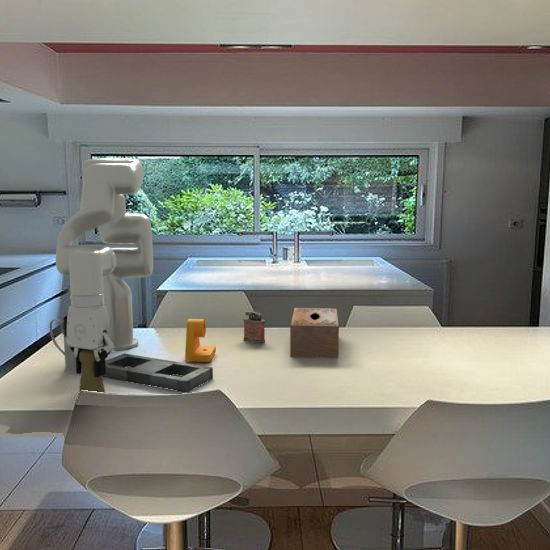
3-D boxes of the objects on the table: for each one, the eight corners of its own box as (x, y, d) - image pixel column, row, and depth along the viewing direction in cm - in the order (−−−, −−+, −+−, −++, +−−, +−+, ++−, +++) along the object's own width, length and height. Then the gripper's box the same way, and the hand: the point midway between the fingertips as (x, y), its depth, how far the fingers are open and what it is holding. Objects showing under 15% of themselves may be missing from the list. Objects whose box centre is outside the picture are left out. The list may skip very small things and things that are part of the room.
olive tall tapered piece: (90, 398, 131) (88, 354, 129) (73, 393, 134) (71, 350, 132) (110, 391, 136) (108, 348, 134) (93, 386, 139) (91, 344, 137)
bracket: (210, 364, 158) (209, 323, 156) (185, 363, 158) (184, 323, 157) (216, 353, 168) (215, 315, 167) (192, 353, 169) (192, 315, 167)
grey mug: (82, 376, 147) (80, 321, 145) (41, 370, 152) (37, 317, 150) (103, 366, 155) (101, 314, 153) (63, 361, 160) (60, 311, 158)
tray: (94, 375, 148) (93, 364, 147) (124, 363, 158) (124, 353, 158) (186, 392, 135) (186, 381, 134) (212, 378, 145) (212, 367, 145)
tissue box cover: (338, 358, 164) (338, 326, 163) (290, 357, 165) (290, 325, 164) (336, 336, 189) (336, 308, 188) (294, 336, 191) (294, 307, 189)
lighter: (267, 342, 182) (267, 312, 180) (261, 344, 179) (261, 314, 178) (247, 338, 186) (247, 309, 185) (241, 340, 183) (241, 311, 182)
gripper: (49, 300, 132) (53, 373, 135) (103, 306, 125) (106, 383, 127) (73, 295, 139) (77, 365, 141) (126, 301, 131) (128, 374, 134)
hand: (91, 373), depth 134 cm, fingers closed on olive tall tapered piece, 5 cm apart
